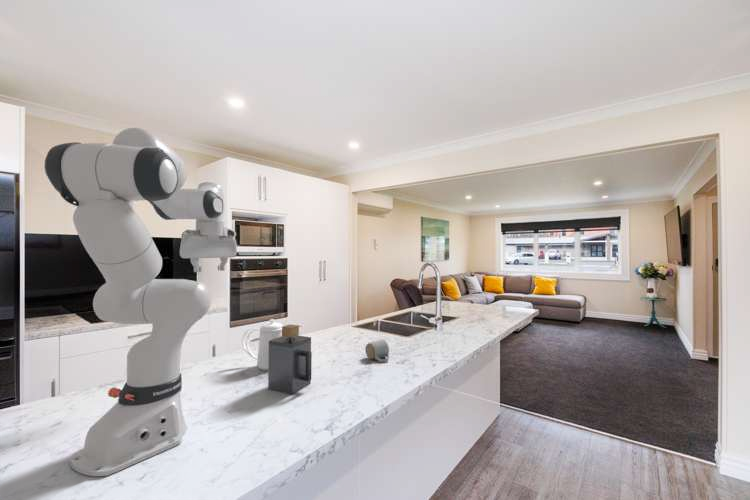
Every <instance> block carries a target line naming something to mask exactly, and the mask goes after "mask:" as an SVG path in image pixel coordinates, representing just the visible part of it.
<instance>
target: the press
mask: <svg viewBox="0 0 750 500" xmlns="http://www.w3.org/2000/svg"><path fill="white" fill-rule="evenodd" d="M267 371H268V374H267V375H268V377H267V379H268V381H267V383H268V387H267V389H268V390H270V391H273V392H274V391H275V392H278V393H283V394H287V395H290V396H291V395H294V394H296V393H298V392H299V391H301V390H303V389H305V388H306V387H308V386H309V385H311V383H312V382H311V381H312V336H311V337H310V336H303V335H297V336H294V337H292V340H289V337H284V336H281V337H278V338H276V339H273V340H270V341H269V364H268V370H267Z"/></svg>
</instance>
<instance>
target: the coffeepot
mask: <svg viewBox="0 0 750 500" xmlns="http://www.w3.org/2000/svg"><path fill="white" fill-rule="evenodd" d="M297 325H298V326H299V328H300V327H302V328H303V327H304V325H303V324H297ZM283 326H284V325H283V324H282V323H281V322H275V319H269V322H265V323H264V324H262V325H261V326H260V328H258V327H256V328H255V327H254V328H250V329H248V330H246V331H245V332H244V334H243V336H242V345H243V346H242V347H243V349H244V350H245V352H246V353H247V354H248V355H249V356H250V357H251V358H253V359H255V360H257V362H256V366H257V368H258V369H260V370H263V371H268V364H269V341H270V340H273V339H276V338H278V337H281V336H282V327H283ZM251 330H252V331H251ZM249 331H250V332H249ZM254 331H259V339H258V350H257V356H256V355H254V353H253V352H252V351H251V349H250V347H249V338H250V335H251V334H252V333H253V332H254ZM248 332H249V334H248V335H247V337H246V334H247V333H248ZM245 337H246V343H245Z"/></svg>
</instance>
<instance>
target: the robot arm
mask: <svg viewBox="0 0 750 500" xmlns="http://www.w3.org/2000/svg"><path fill="white" fill-rule="evenodd" d="M44 170H45V171H44V172H45V174H46V175H45V176H47V178H48V180H49V182H50V183H51V185H52V186H53V188H54V190H55V191H57V192H58V193H59V195H60V197H61V198H63V200H64V201H65V202H67V203H69V204H70V205H72V206H75V207H76V208H75V209H74V212H73V214H72V215H73V216H72V221H73V224H74V227H75V230H76V232H77V235H78V237H79V239H80V242H81V244H82V245H83V248H84V249H85V250H86V252H87V254H88V255H89V257H90V258H91V259H92V262H94V265H96V267H97V268H98V271H100V273H101V275H102V276H103V279H105V283H103V284H102V285H101V286H100V287H99V288H98V289H97V291H96V292H95V294H94V296H93V301H92V307H93V311H94V313H95V315H96V316H97V317H98V319H99V320H101V321H103V322H107V323H108V322H109V323H115V324H121V325H142V324H144V325H145V324H146V325H148V324H150V325H151V324H152V330H151V333H150V335H149V336H147V337H145V338H142V339H141V340H139V341H137V342H136V343H134V344H133V345H132V347H130V348H129V350H128V352H127V356H126V382H125V384H124V385H123V386H122V389H120V388H118V387H111V388H110V389H109V390H108V391H107V396H108V397H110V398H113V399H116V398H117V402H116V403H115V404H114V405H112V407H111V408H110V409H109V410H108V411H107V412H106V413H105V414H103V415H102V416H101V417H100V418H99V419H98V420H96V422H95V423H94V424H92V426H90V427H89V429H88V431H87V433H86V436H85V440H84V446H83V448H82V449H79V450H78V451H76V452H74V453H73V454H71V456H70V460H69V465H70V467H71V468H72V469H73V470H74V471H75V472H77V473H79V474H82V475H84V476H91V477H107V476H109V475H112V474H114V473H117V472H119V471H122V470H124V469H126V468H128V467H131V466H133V465H135V464H138V463H139V462H142V461H144V460H147V459H149V458H150V457H153V456H156V455H158V454H160V453H162V452H164V451H167V450H169V449H172V448H174V447H175V446H178V445H180V444H181V443H182V441H183V435H184V434H185V432H186V431H187V427H188V426H187V423H186V421H185V419H184V413H183V409H182V407H183V406H182V400H181V391H182V385H183V384H182V382H183V381H182V378H183V377H182V373H180V371H181V369H180V368H181V355H182V348H183V347H182V346H183V342H184V341H185V340H184V339H185V338H186V336H187V333H188V331H189V330H190V329H191V328H192V327H193V326H194V325H195V324H197V323H198V321H200V320H201V319H203V317H205V315H207V314H208V312H209V310H210V309H211V308H210V307H211V304H212V296H211V295H212V294H211V291H210V289H209V288H208V286H207V285H206V284H205V283H203V282H201V281H196V280H191V279H190V280H189V279H186V278H185V279H184V278H179V279H178V278H156V277H157V276H158V275H159V274H160V272H162V271H161V270H162V268H163V257H162V255H161V253H160V251H159V249H158V247H157V246H156V243H155V240H153V238H152V235H151V233H150V232H149V229H148V227H147V226H146V225H145V223H144V222H143V220H142V218H141V217H140V216H139V214H138V213H137V212H136V211H135V209H134V203H133V202H135V201H136V202H137V201H147V202H148V203H149V204H151V206H152V207H153V209H154V211H155V213H156V214H157V215H158V216H159V217H160V218H162V219H163V220H165V221H168V220H169V221H170V220H195V229H194V230H193V229H185V230H184V231H183V232H182V233H181V235H180V236H181V238H180V239H181V241H180V247H179V256H180V258H182V259H190V264H191V265H192V267H193V272H194V273H201V272H202V266H199V260H200V259H220V260H219V262H220V264H219V265H217V270H218V271H220V272H222V271H225V270H226V268H225V267H226V264H227V263H228V262H229V261H228V259H229V258H231V259H232V258H235V257H236V256H237V253H238V252H237V251H238V250H237V249H238V246H237V239H236V236H237V232H236V231H235V230H233V229H231V228H229V227H227V226H226V225H225V220H224V214H225V197H224V196H225V195H224V191H223V187H222V186H220V185H219V184H217V183H214V182H208V181H207V182H201V183H199V184H198V186H197V188H182V187H183V186H184V185H185V183H186V180H187V177H188V170H187V165H186V164H185V162H184V160H183V158H182V157H181V156H180V155H179V154H178V153H177V152H176V151H175V150H174V149H173V148H172V147H171V146H170V145H169V144H167V142H165V141H164V140H163V139H161V138H160V137H159V136H158V135H156V134H155V133H153V132H151V131H149V130H147V129H144V128H141V127H129V128H126V129H123V130H122V131H120V132H119V133H117V134H116V136H115V137H114V139H113V141H112V143H108V142H107V143H104V142H101V143H100V142H93V143H92V142H89V143H81V142H76V141H75V142H67V143H66V142H65V143H61V144H60V143H59V144H56V145H53V146H52V147H51V148H50V149H49V150H48V152H47V154H46V157H45V160H44Z"/></svg>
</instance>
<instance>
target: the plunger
mask: <svg viewBox="0 0 750 500" xmlns="http://www.w3.org/2000/svg"><path fill="white" fill-rule="evenodd" d="M298 325H299V324H287V325H282V326H283V327H282V336H284V337H289V340H292V337H294V336H297V335H298V336H300V327H299V326H298Z"/></svg>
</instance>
